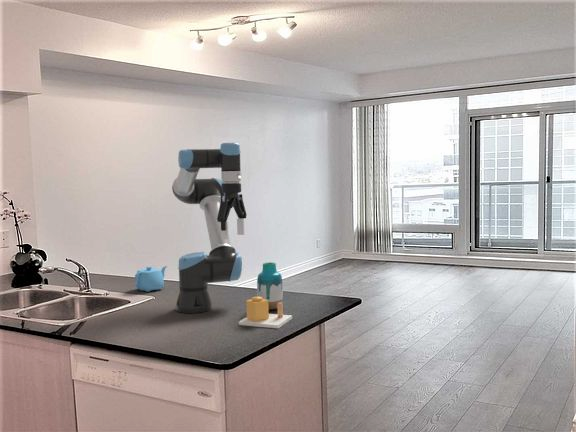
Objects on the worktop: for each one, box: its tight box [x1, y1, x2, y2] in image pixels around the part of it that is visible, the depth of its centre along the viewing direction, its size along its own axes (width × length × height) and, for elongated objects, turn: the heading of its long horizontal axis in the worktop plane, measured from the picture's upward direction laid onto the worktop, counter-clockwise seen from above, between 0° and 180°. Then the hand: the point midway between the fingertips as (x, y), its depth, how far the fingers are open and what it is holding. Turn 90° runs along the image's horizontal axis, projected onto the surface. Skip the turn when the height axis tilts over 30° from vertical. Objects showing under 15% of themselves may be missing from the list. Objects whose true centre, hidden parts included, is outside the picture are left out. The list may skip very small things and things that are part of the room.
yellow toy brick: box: [246, 296, 270, 321], centre depth 213 cm, size 6×6×8 cm
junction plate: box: [238, 301, 293, 329], centre depth 213 cm, size 16×14×7 cm
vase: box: [256, 261, 284, 311], centre depth 232 cm, size 11×11×19 cm
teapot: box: [134, 265, 168, 293], centre depth 276 cm, size 12×18×12 cm
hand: (233, 236), depth 220 cm, fingers open, 13 cm apart
